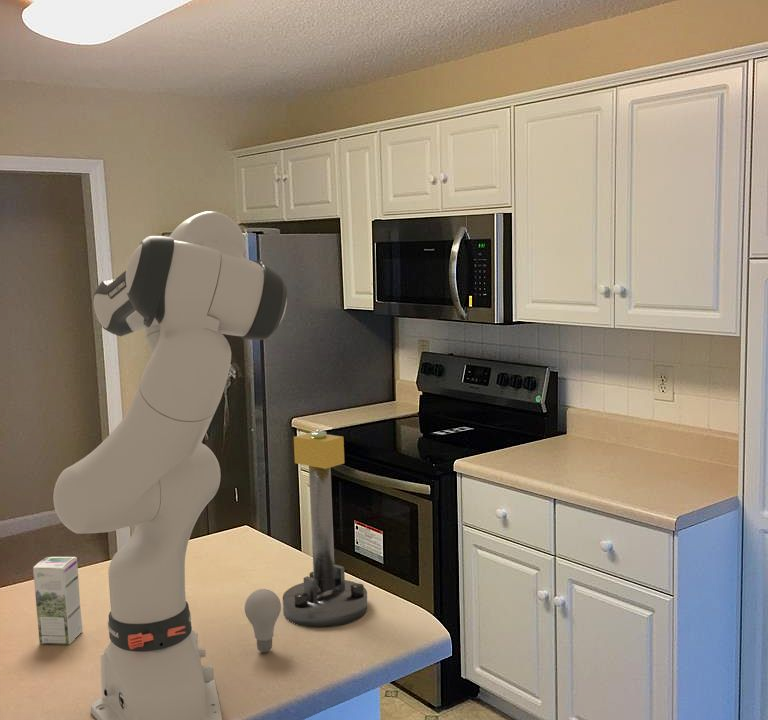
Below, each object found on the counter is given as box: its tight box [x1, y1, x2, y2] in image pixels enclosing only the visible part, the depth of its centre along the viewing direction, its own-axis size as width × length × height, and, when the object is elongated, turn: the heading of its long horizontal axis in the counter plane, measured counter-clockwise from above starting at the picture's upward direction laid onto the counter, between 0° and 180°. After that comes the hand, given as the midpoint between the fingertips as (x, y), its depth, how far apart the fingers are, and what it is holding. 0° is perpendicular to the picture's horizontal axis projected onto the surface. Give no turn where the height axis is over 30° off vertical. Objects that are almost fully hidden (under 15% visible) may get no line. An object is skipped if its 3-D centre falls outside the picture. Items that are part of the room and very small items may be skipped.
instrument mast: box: [293, 429, 345, 595], centre depth 163 cm, size 8×6×31 cm
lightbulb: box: [244, 588, 282, 654], centre depth 148 cm, size 6×6×11 cm
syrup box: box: [32, 556, 83, 646], centre depth 155 cm, size 6×6×14 cm
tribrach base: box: [282, 564, 368, 629], centre depth 165 cm, size 16×16×7 cm
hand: (198, 414), depth 163 cm, fingers closed
